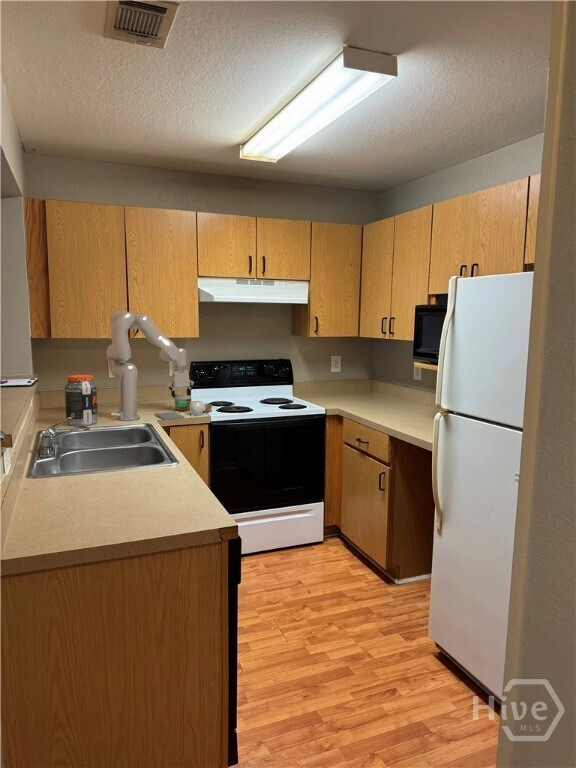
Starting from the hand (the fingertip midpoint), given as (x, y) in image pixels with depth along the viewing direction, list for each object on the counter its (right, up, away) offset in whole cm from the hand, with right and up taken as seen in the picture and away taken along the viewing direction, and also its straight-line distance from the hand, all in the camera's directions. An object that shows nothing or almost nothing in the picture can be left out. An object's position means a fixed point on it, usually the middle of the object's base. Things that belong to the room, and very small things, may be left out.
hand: (181, 396), depth 314 cm
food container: (-1, -10, +1) cm, 10 cm away
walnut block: (+15, -10, -2) cm, 18 cm away
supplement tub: (-45, -14, -39) cm, 61 cm away
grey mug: (+11, -11, -10) cm, 19 cm away
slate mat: (-4, -11, -17) cm, 20 cm away
